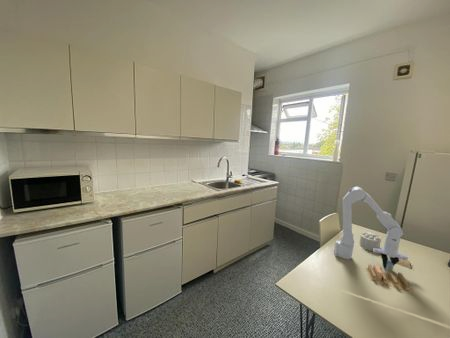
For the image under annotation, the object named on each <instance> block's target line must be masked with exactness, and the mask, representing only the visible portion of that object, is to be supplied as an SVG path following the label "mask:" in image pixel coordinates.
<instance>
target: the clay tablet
mask: <svg viewBox="0 0 450 338" xmlns="http://www.w3.org/2000/svg"><path fill="white" fill-rule="evenodd" d="M387 257H389V259H390V256H388V255H387ZM410 262H411V261H410V260H409V259H408V260H404V259H401V258H399V262H397V263H396V264H395V265H398V266H401V267H405V268H407V269H409V270H410V269H411V264H410Z"/></svg>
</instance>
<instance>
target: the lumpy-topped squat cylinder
mask: <svg viewBox="0 0 450 338" xmlns="http://www.w3.org/2000/svg"><path fill="white" fill-rule="evenodd" d="M381 242H382V237H381V236H380V235H378V234H376V233H372V232H370V231H362V233H360V238H359V246H360V247H361V248H362V249H365V250H368V251H372V252H373V248H378V249H381V248H380V247H381Z"/></svg>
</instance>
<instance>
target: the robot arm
mask: <svg viewBox="0 0 450 338" xmlns="http://www.w3.org/2000/svg"><path fill="white" fill-rule="evenodd" d="M359 201H362V202H363V203H366V204H368V206H370V208H371V209H372V210H373V211H374V212H375V213H376V219H378V221H379V222H380V223H381V225H383V226H384V227H385V229H386V230H387V231H386V235H385V240H384V245H383V248H379V249H378V248H373V251H372V253H375V254H376V253H377V254H380V257H381V262H382V263H383V264H382V267H383V268H384V269H385V268H386V263H387V260H388V258H387V257H388V256H390V260H391V262H392V263H393V267H394V266H395V265H397V264H396V263H397V262H399V258H401V259H404V260H408V261H409V257H408V256H407V255H406V254H403V253H400V252H399V248H400V241H401V237H402V236H403V235H404V231H403V229H402V227H401V226H400V224H399V223H398V221H396V220H394V218H393V215H392V214H391V213H389V212H388V211H384V210H382V209H381V207H380V205H378V203H377V202H376V201H375V200H374V199H373V198H372V196H371V195H370V194H369V193H368V192H366V191H365V190H364V189H363V188H362V187H360V186H354V187H351V188H349V190H348V192H347V193H346V194H345V195H344V196H343V198H342V231H341V239H340V240H335V242H334V249H333V253H334V256H336V257H340V258H342V259H345V260H352V257H353V253H354V252H353V251H354V247H355V245H354V244H355V240H354V233H353V222H352V221H353V220H352V219H353V215H352V213H353V211H352V209H353V208H352V204H354V203H356V202H359Z"/></svg>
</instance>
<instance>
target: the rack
mask: <svg viewBox="0 0 450 338" xmlns="http://www.w3.org/2000/svg"><path fill="white" fill-rule="evenodd" d="M379 267H380V266H379ZM380 269H381V271H382V273H383V274H382V279H381V281H379V280H376V277H377V276H376V274H375V272H374V270H373V265H372V264H368V267H365V271H366V272H367V275H368V279H370V281H372V282H375V283H378V284H382V285H385V286H389V287H391V288H395V289H399V290H401V291H406V292H408V293H411V294H413V291H412V289H410V287H411V286H410V284H409V282H408V281H407V279H406V277H405V276H404V275H403V273H402V272H397V275H394V273H393V270H392V271H391V270H388V272H387V271H386V272H384V271H383V268H382V267H380Z"/></svg>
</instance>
